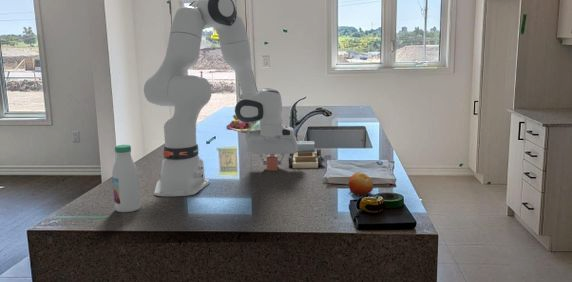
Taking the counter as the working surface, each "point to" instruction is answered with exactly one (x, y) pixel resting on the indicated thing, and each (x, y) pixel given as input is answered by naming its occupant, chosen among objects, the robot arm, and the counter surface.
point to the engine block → (272, 162)
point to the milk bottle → (125, 181)
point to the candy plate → (243, 125)
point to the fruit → (360, 184)
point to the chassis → (306, 156)
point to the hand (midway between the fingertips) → (272, 164)
